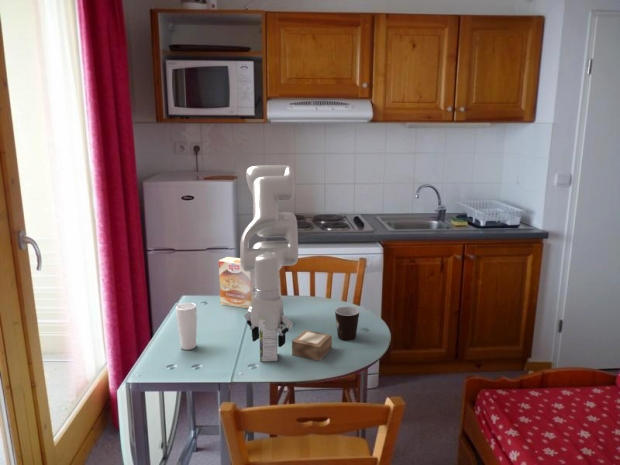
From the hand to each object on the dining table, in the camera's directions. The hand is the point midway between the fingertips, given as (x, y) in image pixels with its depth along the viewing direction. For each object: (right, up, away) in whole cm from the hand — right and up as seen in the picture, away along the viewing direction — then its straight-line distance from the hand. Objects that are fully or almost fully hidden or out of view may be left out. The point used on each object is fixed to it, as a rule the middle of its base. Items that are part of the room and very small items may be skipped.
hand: (268, 342), depth 160 cm
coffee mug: (+27, -2, +18) cm, 32 cm away
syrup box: (0, -5, +1) cm, 6 cm away
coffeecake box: (-16, +5, +49) cm, 52 cm away
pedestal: (+14, -4, +5) cm, 16 cm away
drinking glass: (-28, -4, +9) cm, 30 cm away
